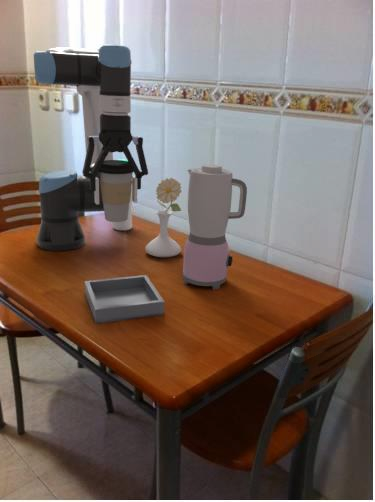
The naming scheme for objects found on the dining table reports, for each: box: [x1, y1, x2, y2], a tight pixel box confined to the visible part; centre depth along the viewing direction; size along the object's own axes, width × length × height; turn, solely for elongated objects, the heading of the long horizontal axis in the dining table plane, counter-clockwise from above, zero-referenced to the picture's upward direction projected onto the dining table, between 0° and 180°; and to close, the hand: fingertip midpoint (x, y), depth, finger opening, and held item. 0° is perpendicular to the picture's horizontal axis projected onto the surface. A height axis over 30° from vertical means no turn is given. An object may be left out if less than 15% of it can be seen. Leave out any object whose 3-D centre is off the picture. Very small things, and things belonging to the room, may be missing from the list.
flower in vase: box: [144, 177, 182, 258], centre depth 141 cm, size 13×11×25 cm
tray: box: [84, 274, 165, 324], centre depth 112 cm, size 16×16×4 cm
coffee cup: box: [99, 159, 134, 223], centre depth 120 cm, size 9×9×15 cm
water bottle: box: [112, 158, 133, 232], centre depth 165 cm, size 7×7×25 cm
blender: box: [182, 163, 248, 290], centre depth 122 cm, size 16×12×32 cm
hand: (116, 202), depth 121 cm, fingers closed on coffee cup, 9 cm apart
